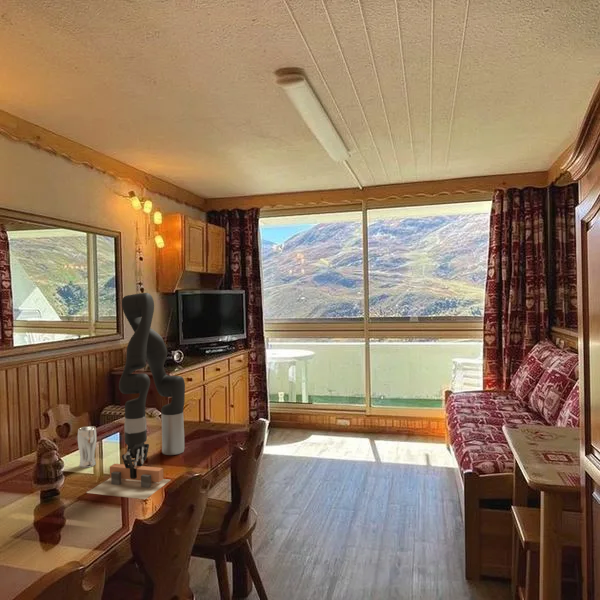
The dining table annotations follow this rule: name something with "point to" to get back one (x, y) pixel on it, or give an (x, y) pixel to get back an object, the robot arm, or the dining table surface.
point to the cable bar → (138, 472)
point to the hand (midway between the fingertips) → (136, 476)
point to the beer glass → (87, 446)
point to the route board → (128, 486)
